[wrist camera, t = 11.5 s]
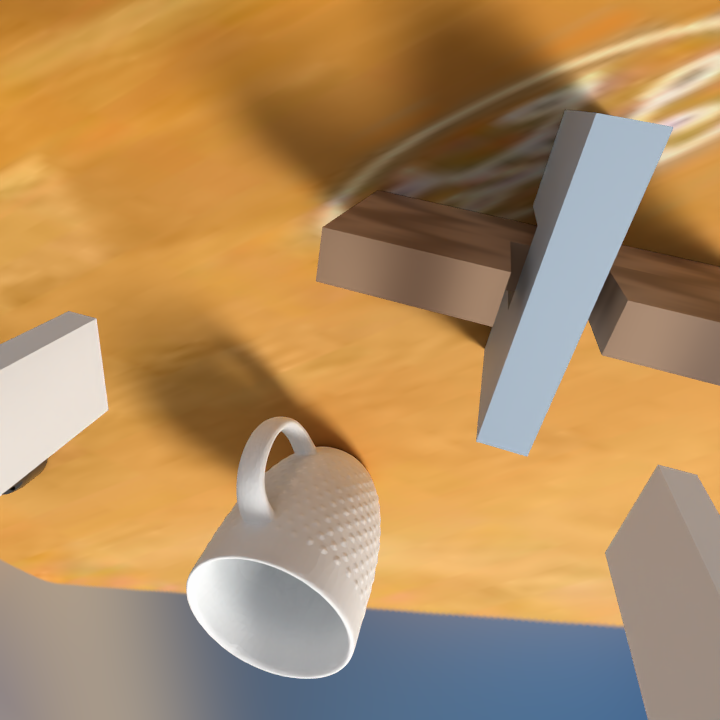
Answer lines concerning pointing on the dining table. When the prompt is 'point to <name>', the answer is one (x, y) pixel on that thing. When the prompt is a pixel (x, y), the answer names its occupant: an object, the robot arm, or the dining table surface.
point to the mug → (291, 558)
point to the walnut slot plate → (502, 272)
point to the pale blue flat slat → (563, 267)
